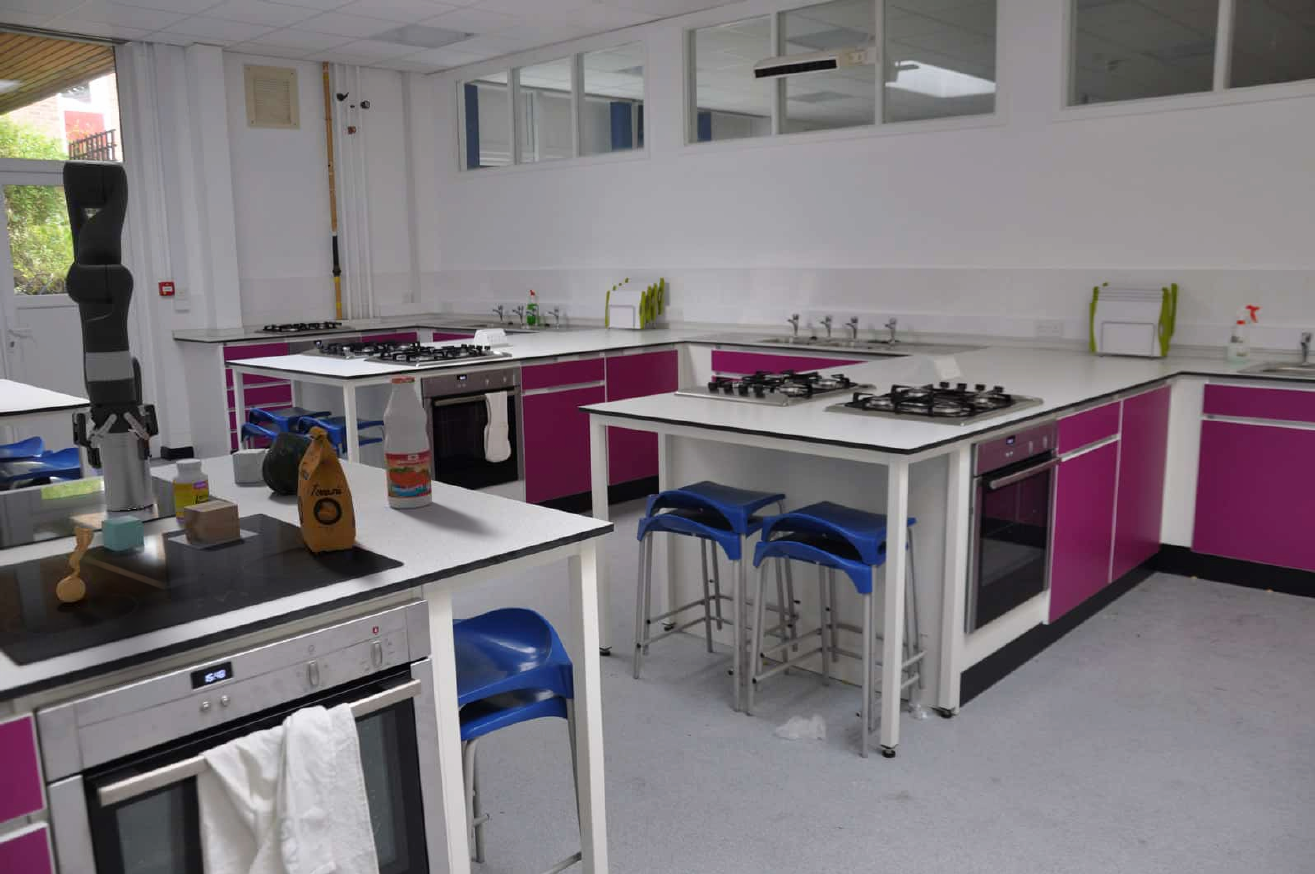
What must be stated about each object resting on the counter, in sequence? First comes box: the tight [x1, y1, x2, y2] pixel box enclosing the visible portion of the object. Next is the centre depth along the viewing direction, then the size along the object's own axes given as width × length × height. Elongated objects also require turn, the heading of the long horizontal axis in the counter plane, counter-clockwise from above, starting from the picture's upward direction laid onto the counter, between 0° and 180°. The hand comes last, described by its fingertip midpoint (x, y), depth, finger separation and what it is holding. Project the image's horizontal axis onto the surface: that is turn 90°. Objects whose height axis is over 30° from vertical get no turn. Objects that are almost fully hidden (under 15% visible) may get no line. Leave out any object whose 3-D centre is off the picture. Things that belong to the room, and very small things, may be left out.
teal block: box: [100, 515, 145, 552], centre depth 188 cm, size 5×5×6 cm
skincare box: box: [231, 448, 267, 484], centre depth 249 cm, size 6×6×7 cm
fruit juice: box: [383, 375, 433, 509], centre depth 219 cm, size 9×9×28 cm
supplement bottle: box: [172, 458, 211, 522], centre depth 208 cm, size 7×7×13 cm
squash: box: [262, 431, 313, 496], centre depth 235 cm, size 14×15×15 cm
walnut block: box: [183, 499, 241, 543], centre depth 193 cm, size 7×7×6 cm
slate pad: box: [167, 528, 260, 550], centre depth 194 cm, size 12×12×1 cm
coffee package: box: [297, 425, 357, 553], centre depth 188 cm, size 10×12×22 cm
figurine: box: [56, 526, 95, 603], centre depth 160 cm, size 8×6×12 cm
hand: (120, 464), depth 186 cm, fingers open, 8 cm apart
